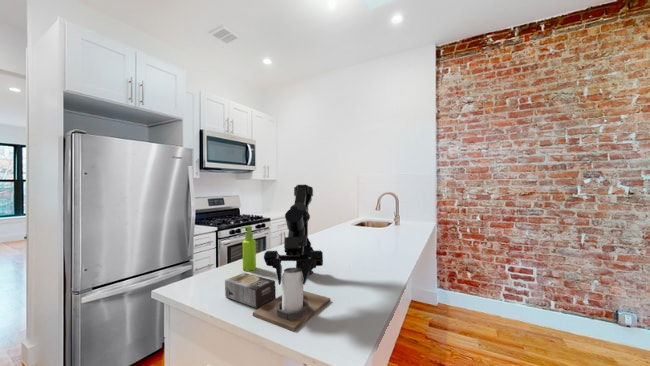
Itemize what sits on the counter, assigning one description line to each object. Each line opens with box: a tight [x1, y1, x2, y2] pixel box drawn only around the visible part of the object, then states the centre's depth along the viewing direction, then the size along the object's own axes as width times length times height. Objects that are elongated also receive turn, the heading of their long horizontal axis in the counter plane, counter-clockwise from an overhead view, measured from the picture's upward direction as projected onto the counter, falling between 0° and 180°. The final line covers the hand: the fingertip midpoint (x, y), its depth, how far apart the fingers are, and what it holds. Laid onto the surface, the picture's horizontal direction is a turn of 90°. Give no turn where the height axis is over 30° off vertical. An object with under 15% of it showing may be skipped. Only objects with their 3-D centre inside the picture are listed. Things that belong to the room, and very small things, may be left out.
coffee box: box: [224, 272, 277, 309], centre depth 90 cm, size 9×6×16 cm
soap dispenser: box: [239, 225, 257, 272], centre depth 119 cm, size 6×7×20 cm
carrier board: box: [252, 290, 331, 332], centre depth 82 cm, size 20×16×3 cm
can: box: [281, 267, 304, 312], centre depth 80 cm, size 6×6×12 cm
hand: (291, 284), depth 77 cm, fingers open, 7 cm apart
